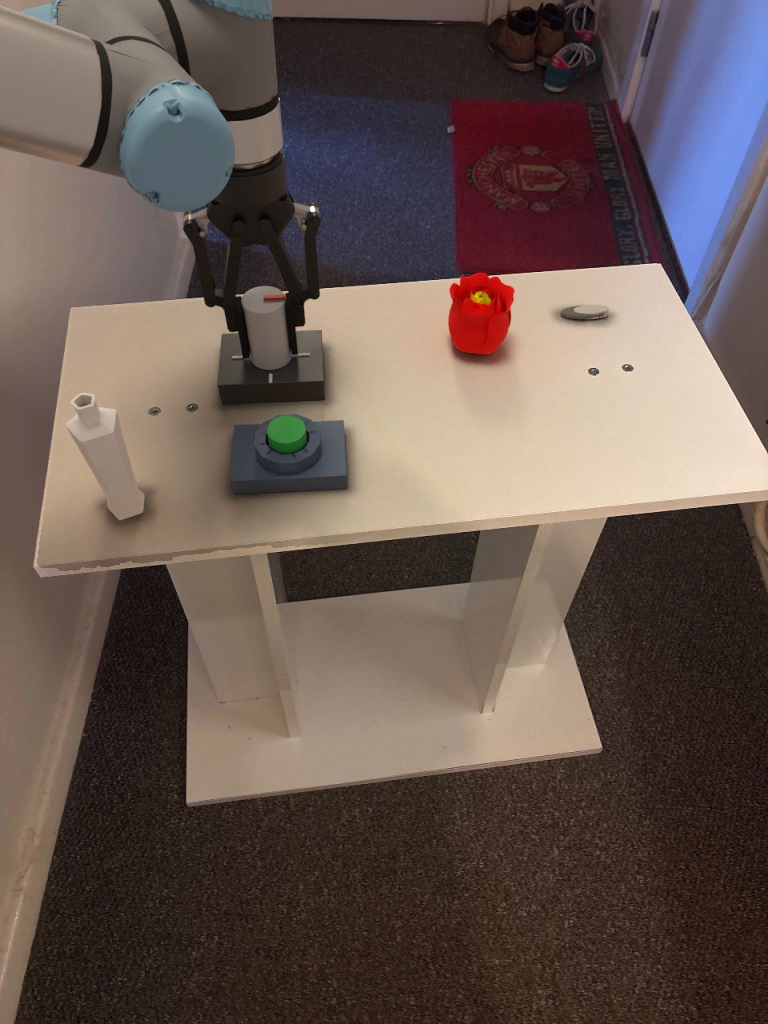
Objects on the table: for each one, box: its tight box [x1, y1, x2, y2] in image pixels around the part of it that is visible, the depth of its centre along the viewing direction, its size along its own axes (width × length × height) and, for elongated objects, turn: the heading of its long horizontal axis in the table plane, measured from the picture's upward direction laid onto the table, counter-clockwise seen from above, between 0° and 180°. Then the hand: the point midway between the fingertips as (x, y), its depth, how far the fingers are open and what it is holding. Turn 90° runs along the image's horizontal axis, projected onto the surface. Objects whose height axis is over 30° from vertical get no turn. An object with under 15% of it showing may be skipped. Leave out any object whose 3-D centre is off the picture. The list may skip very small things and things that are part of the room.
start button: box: [267, 414, 307, 454], centre depth 78 cm, size 4×4×2 cm
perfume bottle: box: [65, 392, 146, 521], centre depth 72 cm, size 5×4×15 cm
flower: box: [447, 272, 515, 355], centre depth 91 cm, size 8×8×8 cm
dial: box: [241, 285, 292, 370], centre depth 85 cm, size 5×5×8 cm
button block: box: [230, 413, 348, 495], centre depth 80 cm, size 12×8×4 cm, turn 94°
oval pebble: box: [560, 304, 610, 320], centre depth 98 cm, size 6×2×1 cm, turn 87°
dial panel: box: [217, 329, 326, 405], centre depth 89 cm, size 12×9×3 cm
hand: (270, 348), depth 87 cm, fingers closed on dial, 5 cm apart
